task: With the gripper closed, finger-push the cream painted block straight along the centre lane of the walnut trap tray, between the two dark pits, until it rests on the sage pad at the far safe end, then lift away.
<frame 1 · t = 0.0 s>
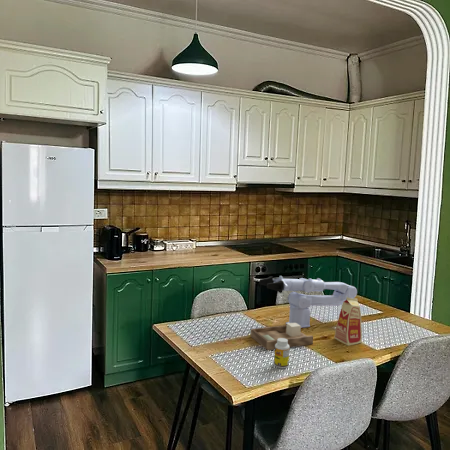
hand: (263, 284, 203), 22 cm above the table, tool horizontal, fingers open, 7 cm apart
supplement bottle: (281, 366, 166), on the table
milk carton: (348, 340, 195), on the table
tray: (281, 340, 192), on the table
block: (293, 334, 194), point 2 cm above the table, touching tray
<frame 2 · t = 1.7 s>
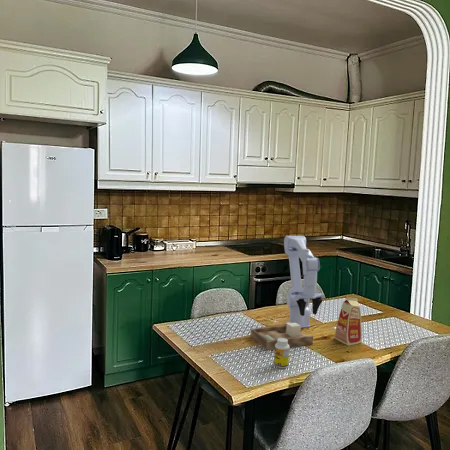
hand: (308, 314, 196), 10 cm above the table, tool pointing down, fingers open, 6 cm apart
nothing on the table moved.
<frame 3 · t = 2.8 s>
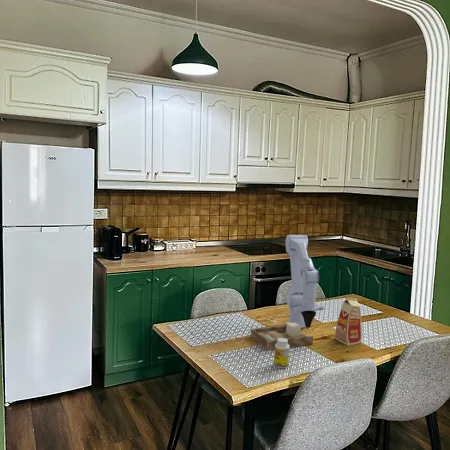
hand: (307, 326, 196), 5 cm above the table, tool pointing down, fingers closed
nothing on the table moved.
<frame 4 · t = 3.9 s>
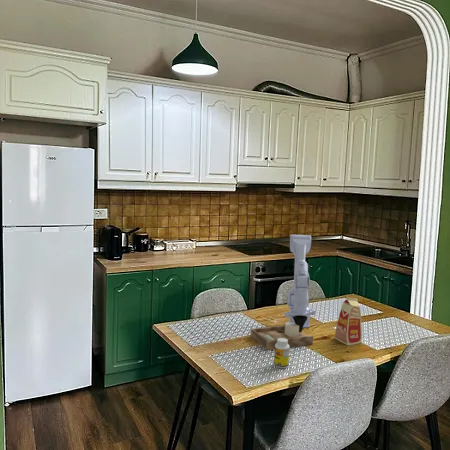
hand: (299, 331, 195), 3 cm above the table, tool pointing down, fingers closed
block: (291, 334, 194), point 2 cm above the table, touching gripper
everything else where it was.
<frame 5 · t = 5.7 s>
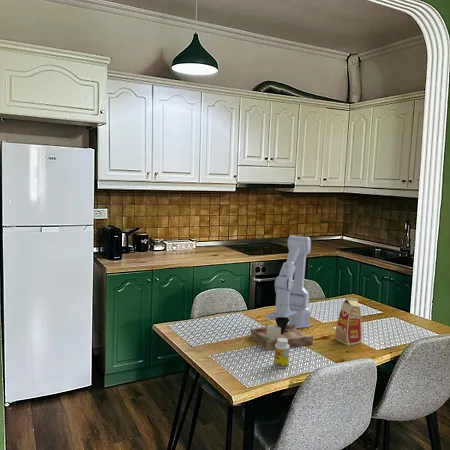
hand: (280, 333, 191), 3 cm above the table, tool pointing down, fingers closed
block: (273, 336, 190), point 2 cm above the table, touching gripper, tray
everything else where it was.
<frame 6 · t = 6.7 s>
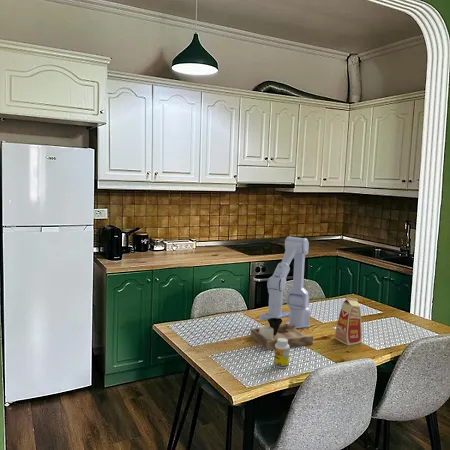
hand: (273, 334, 190), 3 cm above the table, tool pointing down, fingers closed
block: (265, 337, 189), point 2 cm above the table, touching gripper, tray
everything else where it was.
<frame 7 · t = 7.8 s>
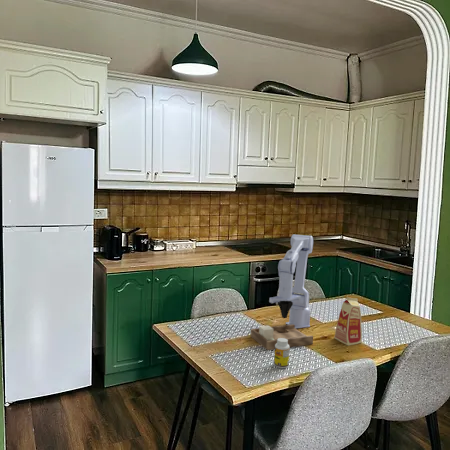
hand: (284, 317, 191), 10 cm above the table, tool pointing down, fingers closed
block: (265, 337, 189), point 2 cm above the table, touching tray
everything else where it was.
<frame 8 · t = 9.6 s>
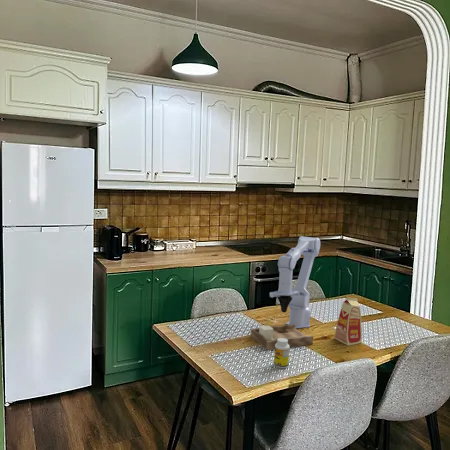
hand: (283, 311, 199), 10 cm above the table, tool pointing down, fingers closed
nothing on the table moved.
at the end: block 0.1 cm from the target spot on the tray, point 2.0 cm above the tray's base; block tilted 0° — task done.
